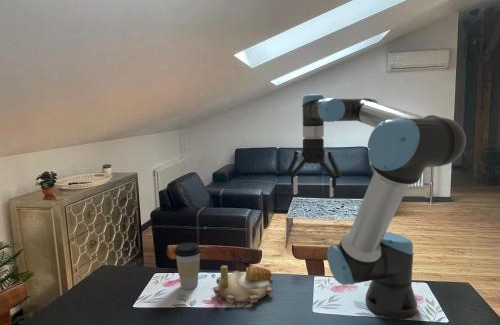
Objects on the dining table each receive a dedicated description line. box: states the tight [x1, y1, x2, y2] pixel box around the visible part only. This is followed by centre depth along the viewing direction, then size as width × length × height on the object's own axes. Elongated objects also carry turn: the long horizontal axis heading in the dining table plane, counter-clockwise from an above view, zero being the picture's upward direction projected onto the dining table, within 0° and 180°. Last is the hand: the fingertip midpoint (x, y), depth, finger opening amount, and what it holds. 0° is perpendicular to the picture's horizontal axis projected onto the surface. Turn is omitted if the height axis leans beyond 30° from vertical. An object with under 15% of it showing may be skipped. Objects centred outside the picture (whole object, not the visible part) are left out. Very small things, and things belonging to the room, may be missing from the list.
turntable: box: [213, 265, 274, 304], centre depth 122 cm, size 21×21×9 cm
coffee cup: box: [173, 242, 202, 291], centre depth 126 cm, size 9×9×15 cm
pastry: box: [245, 265, 272, 281], centre depth 126 cm, size 9×7×4 cm
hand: (313, 195), depth 130 cm, fingers open, 13 cm apart
